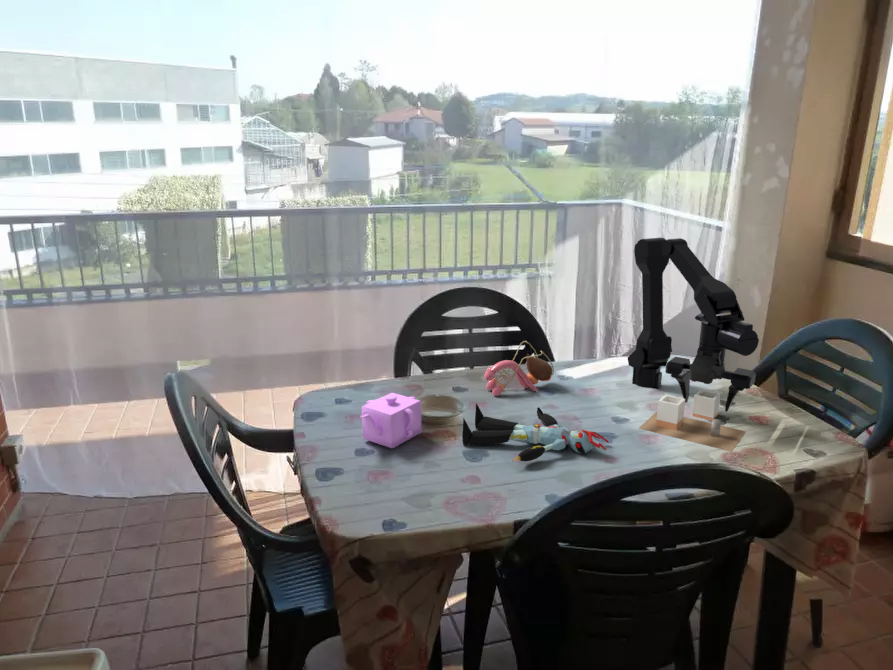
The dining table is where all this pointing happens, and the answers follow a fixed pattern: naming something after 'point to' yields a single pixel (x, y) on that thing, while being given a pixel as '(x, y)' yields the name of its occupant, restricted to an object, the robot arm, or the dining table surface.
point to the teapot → (391, 419)
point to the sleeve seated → (670, 412)
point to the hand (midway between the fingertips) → (706, 406)
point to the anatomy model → (520, 372)
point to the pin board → (699, 432)
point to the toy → (528, 435)
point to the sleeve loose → (706, 404)
